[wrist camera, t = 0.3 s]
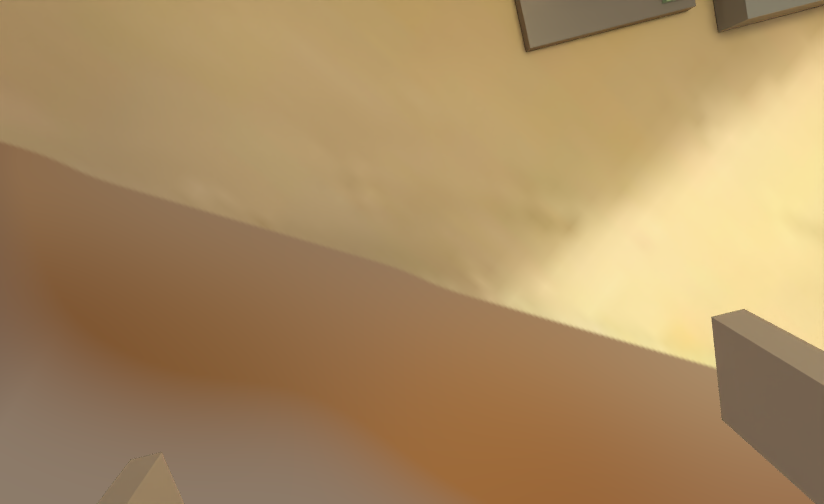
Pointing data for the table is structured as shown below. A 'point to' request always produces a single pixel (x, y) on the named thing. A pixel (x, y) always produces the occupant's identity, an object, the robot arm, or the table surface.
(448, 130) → the table surface
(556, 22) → the checker pad
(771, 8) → the tray
